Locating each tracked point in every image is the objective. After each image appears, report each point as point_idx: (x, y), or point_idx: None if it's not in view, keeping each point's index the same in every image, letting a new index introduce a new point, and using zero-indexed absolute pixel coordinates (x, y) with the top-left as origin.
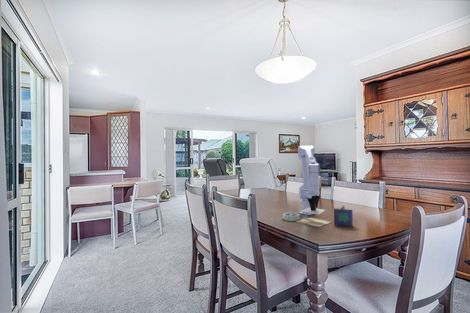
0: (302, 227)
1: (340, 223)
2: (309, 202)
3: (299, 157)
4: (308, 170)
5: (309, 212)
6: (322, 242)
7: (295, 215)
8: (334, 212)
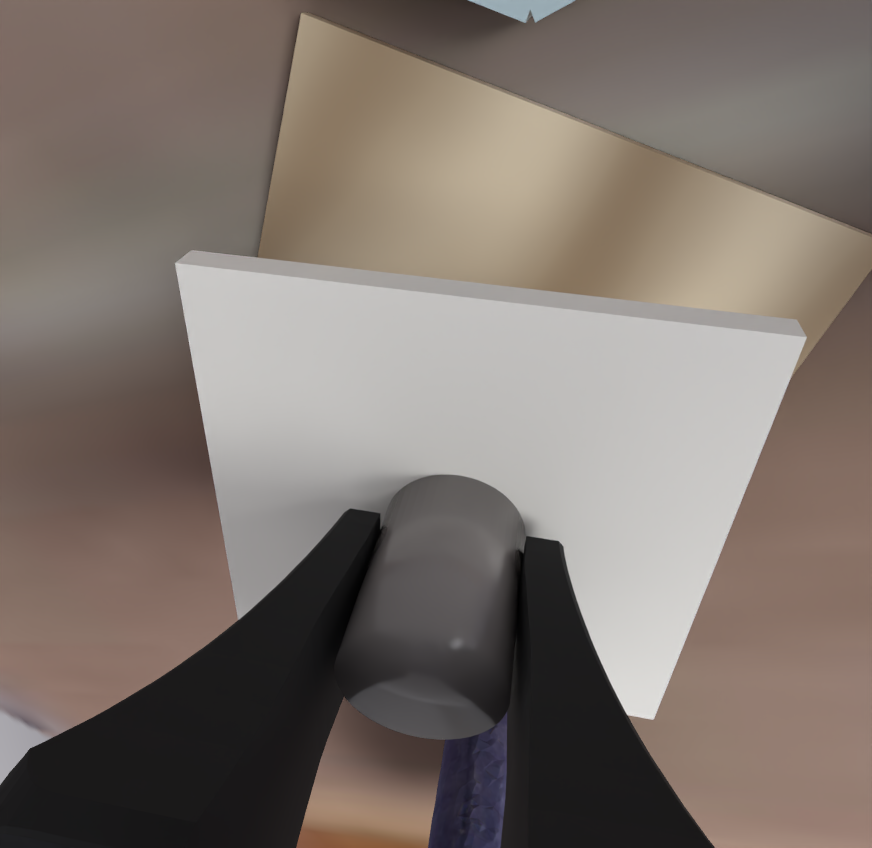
0: (57, 263)
1: None
2: (201, 664)
3: None
4: None
5: (222, 464)
6: None
7: None
8: (443, 825)
